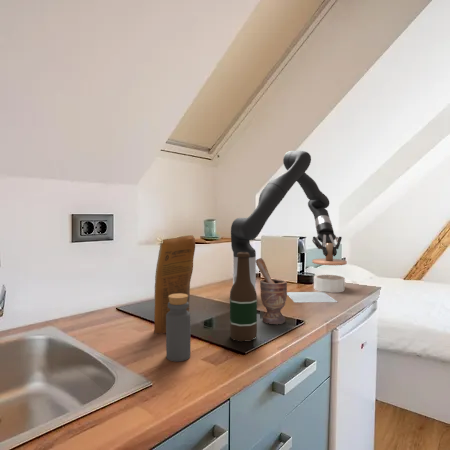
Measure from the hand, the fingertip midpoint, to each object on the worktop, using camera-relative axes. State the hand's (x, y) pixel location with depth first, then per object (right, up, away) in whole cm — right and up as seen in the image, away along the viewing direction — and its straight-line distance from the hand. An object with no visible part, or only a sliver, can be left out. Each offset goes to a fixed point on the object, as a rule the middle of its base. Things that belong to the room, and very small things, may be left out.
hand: (330, 255), depth 151 cm
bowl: (0, -16, +2) cm, 17 cm away
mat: (-12, -17, -12) cm, 24 cm away
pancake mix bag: (-63, -18, -47) cm, 81 cm away
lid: (0, -4, +2) cm, 4 cm away
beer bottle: (-42, -18, -56) cm, 73 cm away
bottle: (-59, -19, -69) cm, 93 cm away
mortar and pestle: (-33, -18, -41) cm, 56 cm away
